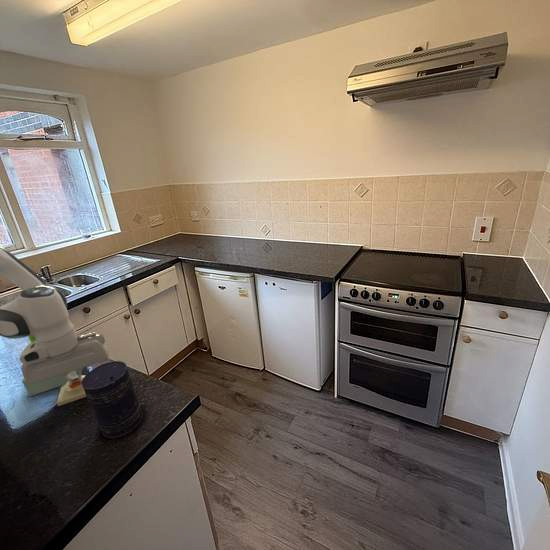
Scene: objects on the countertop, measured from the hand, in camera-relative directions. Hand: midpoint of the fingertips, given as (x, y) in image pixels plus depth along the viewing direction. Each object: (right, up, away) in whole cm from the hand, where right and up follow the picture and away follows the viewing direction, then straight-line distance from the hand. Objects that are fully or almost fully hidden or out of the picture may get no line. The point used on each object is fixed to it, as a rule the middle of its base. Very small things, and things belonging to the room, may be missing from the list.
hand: (76, 381), depth 88 cm
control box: (0, -3, +1) cm, 3 cm away
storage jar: (+20, -6, -12) cm, 24 cm away
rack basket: (-12, -2, +8) cm, 15 cm away
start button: (0, -2, +1) cm, 2 cm away
